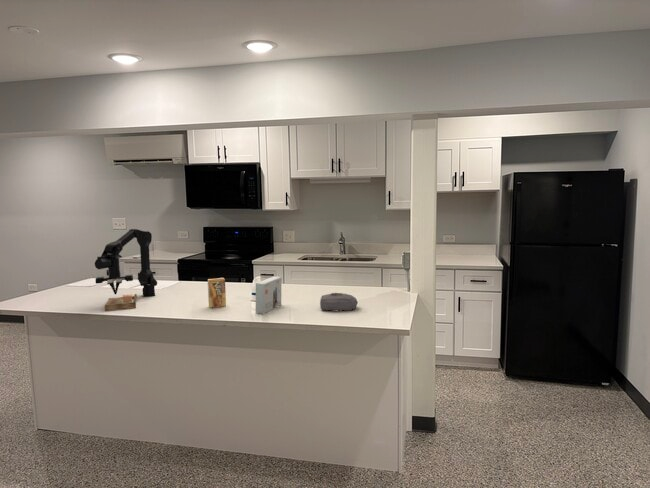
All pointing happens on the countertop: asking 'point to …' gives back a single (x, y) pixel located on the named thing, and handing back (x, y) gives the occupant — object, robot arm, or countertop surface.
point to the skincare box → (268, 294)
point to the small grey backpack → (338, 302)
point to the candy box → (216, 292)
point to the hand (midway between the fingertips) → (115, 294)
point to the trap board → (120, 303)
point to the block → (127, 298)
